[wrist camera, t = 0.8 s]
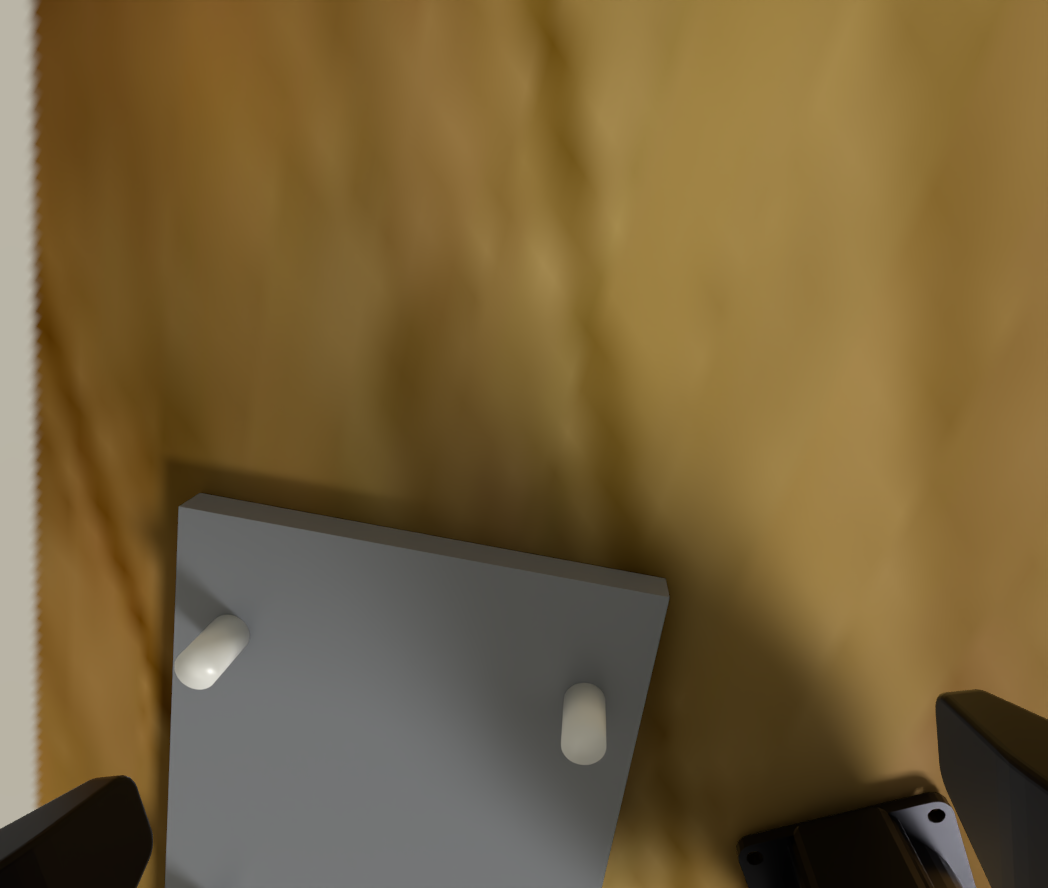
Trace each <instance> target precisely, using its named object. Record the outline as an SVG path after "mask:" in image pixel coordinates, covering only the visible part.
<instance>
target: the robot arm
mask: <svg viewBox="0 0 1048 888" xmlns="http://www.w3.org/2000/svg"><path fill="white" fill-rule="evenodd" d="M935 707H936V724H937V738H938V752H939V764H940V770H941V775H942V779H943V782H944V785H945V788H946V790H947V792H948V795H949V797H950V799H951V801H952V803H953V805H954V808H955V810H956V812H957V814H958V816H959V818H960V821H961V823H962V825H963V827H964V829H965V831H966V834H967V836H968V838H969V840H970V842H971V844H972V847H973V849H974V851H975V853H976V855H977V857H978V859H979V862H980V864H981V866H982V868H983V870H984V872H985V875H986V877H987V879H988V881H989V883H990V885H991V888H1048V719H1046V718H1043V717H1041V716H1039V715H1037V714H1035V713H1032V712H1030V711H1028V710H1026V709H1024V708H1021V707H1019V706H1017V705H1015V704H1013V703H1010V702H1008V701H1006V700H1004V699H1001V698H999V697H997V696H995V695H993V694H990V693H988V692H986V691H983V690H977V689H975V690H965V691H956V692H946V693H942V694H940V695H939V696H938V698H937V700H936V706H935ZM933 809H938V811H936V812H934V813H929V812H930V811H931V810H933ZM152 847H153V834H152V830H151V827H150V824H149V821H148V818H147V815H146V812H145V809H144V807H143V804H142V801H141V798H140V795H139V792H138V789H137V786H136V784H135V782H134V781H133V780H132V779H131V778H130V777H127V776H124V775H121V776H110V777H100V778H95V779H92V780H89V781H87V782H85V783H84V784H82V785H80V786H78V787H76V788H74V789H73V790H71V791H69V792H67V793H65V794H63V795H62V796H60V797H58V798H56V799H54V800H53V801H51V802H49V803H47V804H45V805H43V806H42V807H40V808H38V809H36V810H34V811H32V812H31V813H29V814H27V815H25V816H23V817H22V818H20V819H18V820H16V821H14V822H13V823H10V824H9V825H7V826H5V827H3V828H1V829H0V888H137V886H138V884H139V881H140V879H141V877H142V875H143V872H144V870H145V868H146V866H147V863H148V861H149V859H150V856H151V852H152ZM736 850H737V855H738V859H739V863H740V866H741V868H742V871H743V874H744V876H745V879H746V882H747V884H748V887H749V888H976V886H975V883H974V879H973V876H972V872H971V869H970V866H969V862H968V859H967V855H966V852H965V848H964V845H963V842H962V838H961V835H960V831H959V828H958V824H957V821H956V817H955V814H954V811H953V810H952V808H951V806H950V805H949V803H948V801H947V800H946V798H945V797H944V796H942V795H941V794H938V793H934V792H931V793H924V794H920V795H916V796H911V797H907V798H903V799H899V800H895V801H891V802H886V803H882V804H878V805H874V806H870V807H865V808H861V809H857V810H853V811H849V812H844V813H840V814H836V815H832V816H828V817H823V818H819V819H815V820H811V821H807V822H802V823H798V824H794V825H790V826H786V827H781V828H777V829H773V830H769V831H765V832H760V833H756V834H752V835H748V836H745V837H743V838H741V839H740V840H739V841H738V843H737V846H736ZM754 851H757V852H759V853H757V854H755V855H750V854H749V853H750V852H754Z"/></svg>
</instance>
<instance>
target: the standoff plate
mask: <svg viewBox="0 0 1048 888" xmlns="http://www.w3.org/2000/svg"><path fill="white" fill-rule="evenodd" d="M669 598H670V597H669V592H668V587H667V583H666V579H665V578H660V577H654V576H649V575H644V574H638V573H633V572H627V571H622V570H616V569H611V568H606V567H600V566H595V565H589V564H584V563H578V562H573V561H568V560H562V559H557V558H551V557H546V556H540V555H535V554H530V553H524V552H519V551H513V550H508V549H502V548H497V547H492V546H486V545H481V544H475V543H470V542H464V541H459V540H454V539H448V538H443V537H437V536H432V535H426V534H421V533H416V532H410V531H405V530H399V529H394V528H388V527H383V526H378V525H372V524H367V523H361V522H356V521H350V520H345V519H340V518H334V517H329V516H323V515H318V514H312V513H307V512H302V511H296V510H291V509H285V508H280V507H274V506H269V505H264V504H258V503H253V502H247V501H242V500H236V499H231V498H226V497H220V496H215V495H209V494H204V493H199V494H197V495H196V496H194V497H193V498H191V499H189V500H188V501H186V502H185V503H183V504H182V505H180V506H179V511H178V539H177V567H176V595H175V623H174V650H173V678H172V706H171V734H170V761H169V789H168V817H167V845H166V873H165V888H602V884H603V880H604V876H605V871H606V867H607V863H608V859H609V854H610V850H611V846H612V842H613V837H614V833H615V829H616V824H617V820H618V816H619V812H620V807H621V803H622V799H623V794H624V790H625V786H626V782H627V777H628V773H629V769H630V765H631V760H632V756H633V752H634V747H635V743H636V739H637V735H638V730H639V726H640V722H641V718H642V713H643V709H644V705H645V700H646V696H647V692H648V688H649V683H650V679H651V675H652V671H653V666H654V662H655V658H656V653H657V649H658V645H659V641H660V636H661V632H662V628H663V623H664V619H665V615H666V611H667V606H668V602H669Z"/></svg>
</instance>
